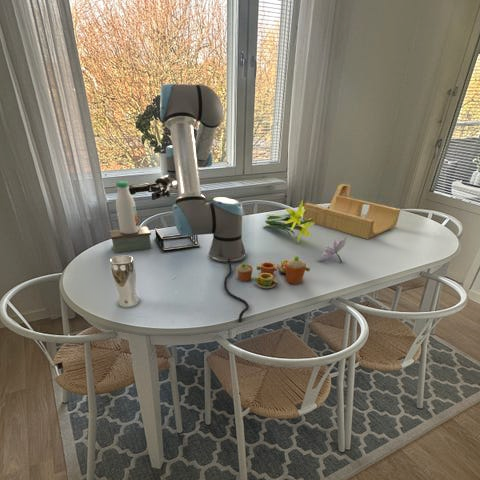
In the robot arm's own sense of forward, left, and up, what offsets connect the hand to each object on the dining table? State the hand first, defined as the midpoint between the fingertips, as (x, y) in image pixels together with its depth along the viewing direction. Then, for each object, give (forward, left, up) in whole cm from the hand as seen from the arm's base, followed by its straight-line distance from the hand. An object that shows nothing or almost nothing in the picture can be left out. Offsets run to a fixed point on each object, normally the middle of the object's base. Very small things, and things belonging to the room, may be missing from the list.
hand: (138, 195), depth 147 cm
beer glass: (-54, +15, -20) cm, 60 cm away
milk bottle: (-7, +7, -13) cm, 16 cm away
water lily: (-48, -69, -20) cm, 86 cm away
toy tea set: (-56, -36, -20) cm, 70 cm away
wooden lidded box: (-7, +7, -20) cm, 22 cm away
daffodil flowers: (-16, -64, -20) cm, 69 cm away
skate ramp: (-10, -110, -20) cm, 112 cm away
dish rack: (-8, -13, -20) cm, 25 cm away
